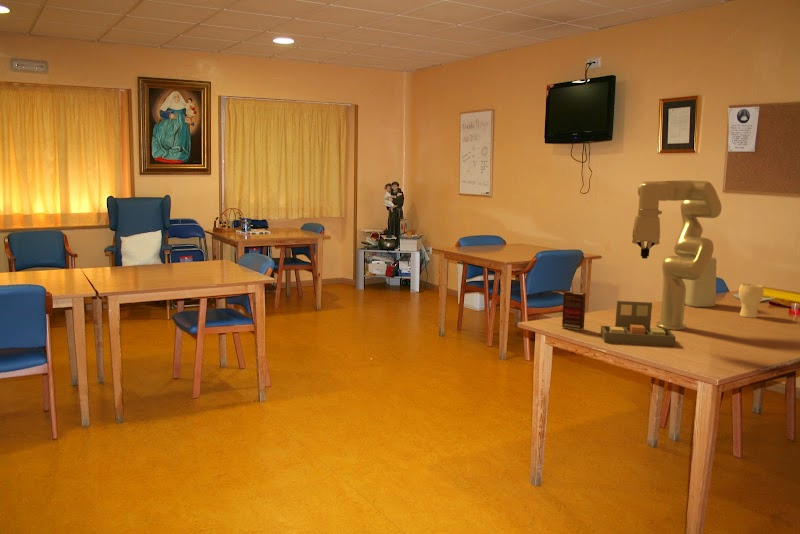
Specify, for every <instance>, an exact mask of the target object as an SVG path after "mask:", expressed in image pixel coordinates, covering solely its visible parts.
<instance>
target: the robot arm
mask: <svg viewBox="0 0 800 534" xmlns="http://www.w3.org/2000/svg"><path fill="white" fill-rule="evenodd" d="M637 194H638V197H639V199H638V211H637V212H638V213H637V215H636V216H635V218H634V222H633V229H632V241H631V243H632V244H635V245H638V246H639V248H640V257H641V259H646V260H647V259H648V257H650V250H651V248H652V247H654V246H657V245H660V242H661V241H660V238H661V222H660V221H661V220H660V217H659V215H662V213H663V211H662V210H659V207H660V205H659V203H660V202H661V201H663V202H667V201H674V202H675V201H676V202H677V201H681V204H680V214H681V219H682V220H681V221H682V228H681V231H680V233H679V235H678V237H677V240H676V242H675V245H674V247H673V249H674V250H673V251H674V254H676V255H669V256H666V257H665V258H664V260H663V261H662V266H661V267H662V276H663V280H662V281H663V283H662V285H663V286H662V295H661V297H662V299H661V305H660V306H661V309H660V320H659V321H657V322H656V324H655V325H656V327H658V328H660V329H668V330H672V331H673V330H675V331H677V330H678V331H682V330H686V329H687V328H688V326H687V324H685V323H684V319H685V318H684V317H685V297H686V286H685V284H684V282H683V280H682V279H687V280H694V281H697V280H700V279H701V278H702V277H703V276H704V274H705V271H706V269H707V266H708V264H709V262H710V259H711V257H713V254H714V248H715V247H714V242H713V241H712V240H711V239H709V237H702V234H703V232H704V231H703V230H704V229H703V227H702V224H701V223H700V221H699V220H698V218H701V219H703V218H704V219H715V218H716V219H717V218H718V217H719V216H720V215H721V213H722V202H721V200H720V197H719V196H718V193H717V190H716V189H715V186H714V185H713V184H712V183H711V182H710V181H708V180H663V181H653V180H652V181H643V182H641V183H640V184H639V186H638V187H637ZM645 242H647V243H646V246H645Z"/></svg>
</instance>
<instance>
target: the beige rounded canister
mask: <svg viewBox="0 0 800 534" xmlns="http://www.w3.org/2000/svg"><path fill="white" fill-rule="evenodd" d="M682 280H683V282H684V284H685V286H686V297H685V305H686V306H688V307H691V308H712V307H715V306H716V304H717V297H716V296H717V258H716V257H713V256H712V257H711V259H710V262H709V264H708V266H707V269H706V271H705V274H704V276H703V277H702V278H701V279H700V280H697V281H694V280H687V279H682Z"/></svg>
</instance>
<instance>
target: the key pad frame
mask: <svg viewBox="0 0 800 534" xmlns="http://www.w3.org/2000/svg"><path fill="white" fill-rule="evenodd" d="M610 327H615V325H614V326H612V325H601V326H600V334H601V335H600V337H601V336H602V337H601V339H602V338H603V339H602V341H603V340H604V341H603V342H604V343H607V342H611V343H610V344H623V343H624V344H625V345H626V344H627V345H640V344H643V345H645V346H658V347H674V346H676V336H675V335H674V333H673V332H671V329H665V328H660V329H661V330H664V331H665V332H666V335H651V334H650V329H651V327H650V328H645V334H630V327H623V329H624V333H612V332H609V331H610ZM643 345H642V346H643Z"/></svg>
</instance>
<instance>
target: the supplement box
mask: <svg viewBox="0 0 800 534" xmlns="http://www.w3.org/2000/svg"><path fill="white" fill-rule="evenodd" d="M586 295H587V293H586V292H579V291H569V290H567V291H564V292H563V299H562V301H563V303H562V318H561V319H562V322H561V328H562V327H563V328H562V329H565V328H568V329H567V330H572V329H574V330H575V331H579V330H580V331H583V330H584V329H585V317H586V316H585V315H586V298H587V297H586ZM582 329H583V330H582Z"/></svg>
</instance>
